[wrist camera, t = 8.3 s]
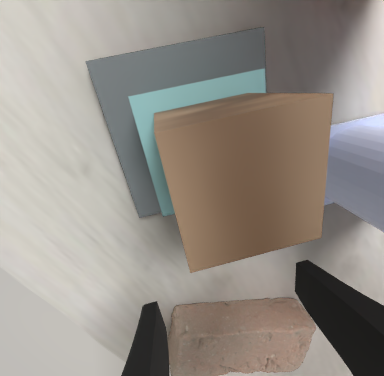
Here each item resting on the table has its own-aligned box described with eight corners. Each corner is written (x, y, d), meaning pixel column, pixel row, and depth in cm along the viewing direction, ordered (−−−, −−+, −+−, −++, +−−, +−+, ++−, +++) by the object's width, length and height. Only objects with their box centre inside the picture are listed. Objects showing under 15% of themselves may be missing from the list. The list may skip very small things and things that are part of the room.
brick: (167, 346, 29) (169, 390, 24) (172, 300, 25) (176, 342, 21) (280, 335, 32) (299, 372, 28) (297, 293, 29) (322, 328, 25)
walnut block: (247, 92, 11) (333, 93, 6) (253, 179, 14) (321, 237, 8) (153, 113, 11) (154, 132, 6) (175, 198, 13) (190, 272, 8)
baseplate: (257, 30, 16) (264, 26, 15) (264, 181, 21) (270, 185, 20) (89, 63, 15) (85, 61, 14) (140, 212, 20) (139, 217, 19)
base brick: (232, 75, 16) (264, 68, 11) (241, 166, 19) (269, 190, 14) (135, 95, 15) (128, 96, 11) (160, 185, 18) (163, 216, 14)
